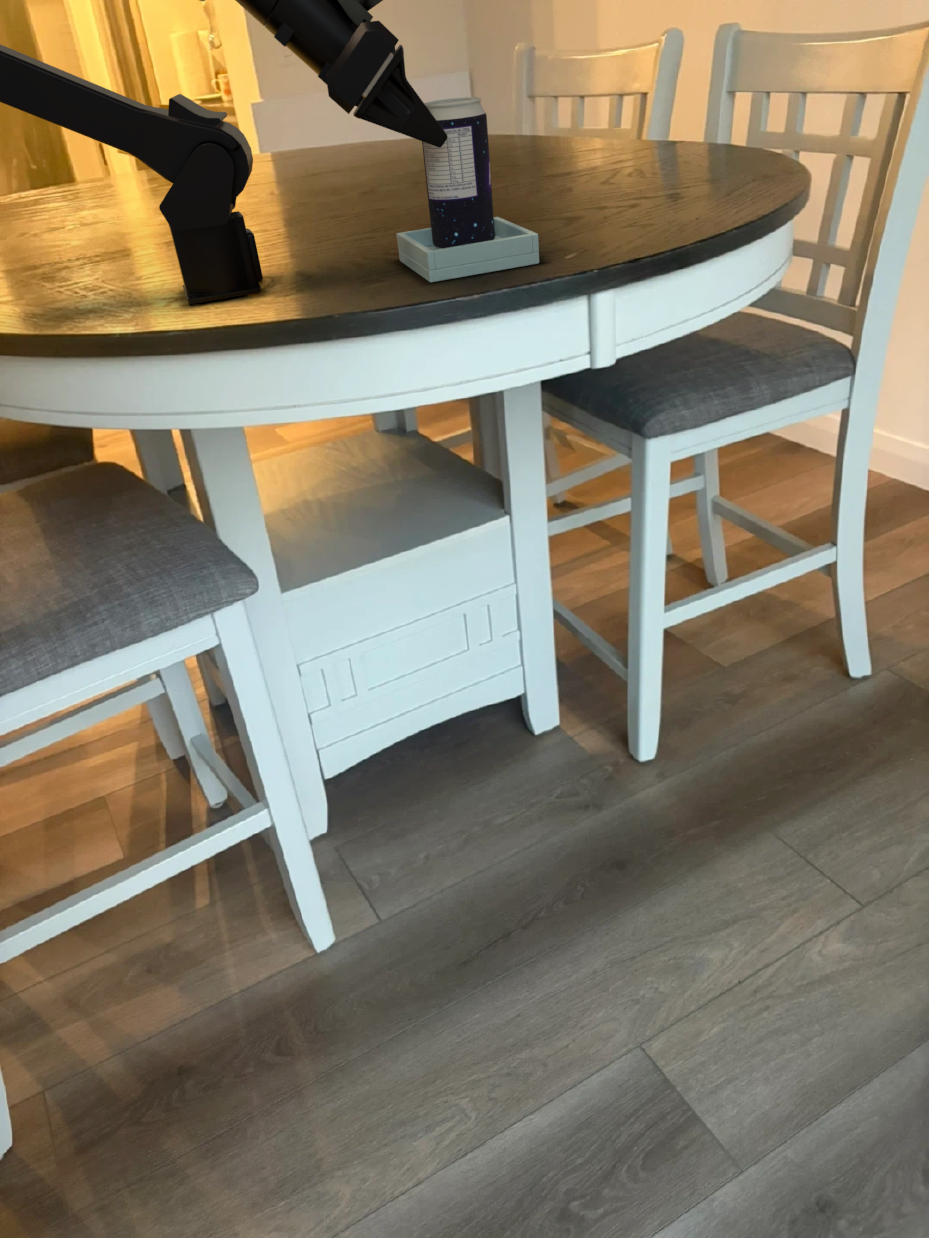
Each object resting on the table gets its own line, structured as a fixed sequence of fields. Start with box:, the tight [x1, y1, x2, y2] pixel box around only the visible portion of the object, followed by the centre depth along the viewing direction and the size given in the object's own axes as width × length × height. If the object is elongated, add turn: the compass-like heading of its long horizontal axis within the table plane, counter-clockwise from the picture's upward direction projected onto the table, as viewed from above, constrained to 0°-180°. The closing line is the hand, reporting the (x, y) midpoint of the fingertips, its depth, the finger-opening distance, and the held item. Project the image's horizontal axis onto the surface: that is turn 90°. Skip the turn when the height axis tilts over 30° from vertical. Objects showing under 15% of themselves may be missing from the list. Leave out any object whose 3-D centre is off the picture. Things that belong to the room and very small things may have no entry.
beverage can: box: [421, 96, 495, 249], centre depth 80 cm, size 6×6×12 cm
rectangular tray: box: [395, 216, 540, 284], centre depth 83 cm, size 10×10×2 cm
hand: (439, 136), depth 78 cm, fingers open, 9 cm apart
